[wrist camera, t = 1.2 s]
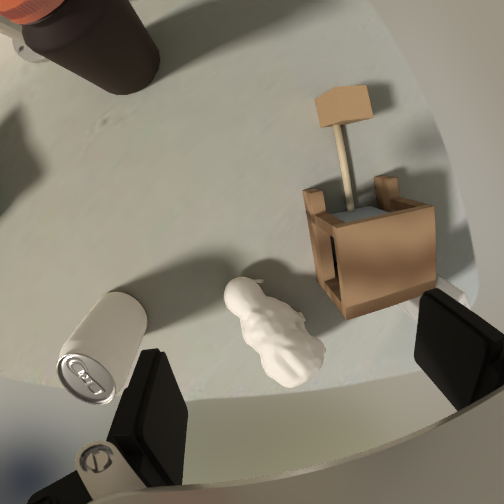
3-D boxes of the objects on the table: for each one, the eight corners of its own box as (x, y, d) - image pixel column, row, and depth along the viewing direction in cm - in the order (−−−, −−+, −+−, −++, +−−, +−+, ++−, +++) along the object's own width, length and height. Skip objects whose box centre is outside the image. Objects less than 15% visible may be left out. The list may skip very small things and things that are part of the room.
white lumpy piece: (286, 405, 27) (199, 323, 25) (277, 361, 36) (209, 290, 34) (339, 369, 27) (257, 277, 25) (319, 330, 35) (254, 254, 33)
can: (127, 280, 31) (86, 338, 20) (159, 327, 33) (136, 398, 22) (86, 304, 32) (39, 362, 20) (117, 347, 34) (85, 414, 22)
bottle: (138, 26, 24) (61, -87, 5) (173, 65, 26) (111, -52, 7) (88, 67, 25) (-33, -2, 5) (120, 109, 26) (-7, 54, 7)
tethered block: (305, 100, 28) (323, 87, 22) (349, 96, 28) (375, 84, 22) (333, 259, 33) (355, 279, 27) (374, 249, 33) (400, 266, 27)
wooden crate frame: (302, 190, 30) (332, 201, 22) (383, 175, 31) (432, 183, 22) (317, 281, 33) (346, 320, 25) (391, 261, 34) (435, 290, 25)
